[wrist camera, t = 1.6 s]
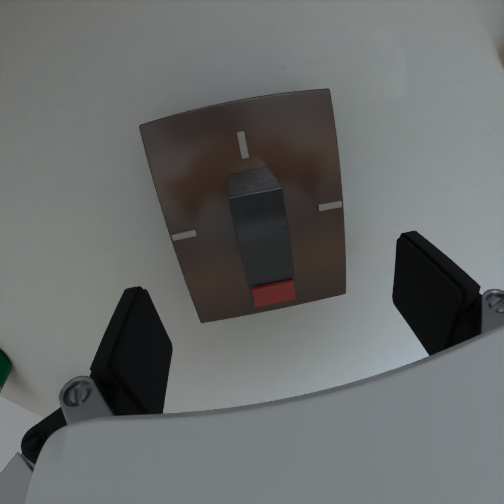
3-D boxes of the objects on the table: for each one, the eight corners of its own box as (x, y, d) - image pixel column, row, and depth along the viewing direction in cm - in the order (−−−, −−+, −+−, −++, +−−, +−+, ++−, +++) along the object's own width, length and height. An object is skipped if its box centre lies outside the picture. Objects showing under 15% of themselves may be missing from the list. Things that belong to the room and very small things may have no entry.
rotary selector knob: (227, 175, 15) (227, 199, 11) (268, 166, 15) (284, 188, 11) (247, 265, 17) (253, 311, 14) (283, 258, 17) (299, 301, 14)
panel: (152, 122, 16) (137, 125, 13) (313, 91, 16) (331, 88, 13) (203, 297, 22) (200, 325, 19) (332, 271, 22) (347, 295, 19)
